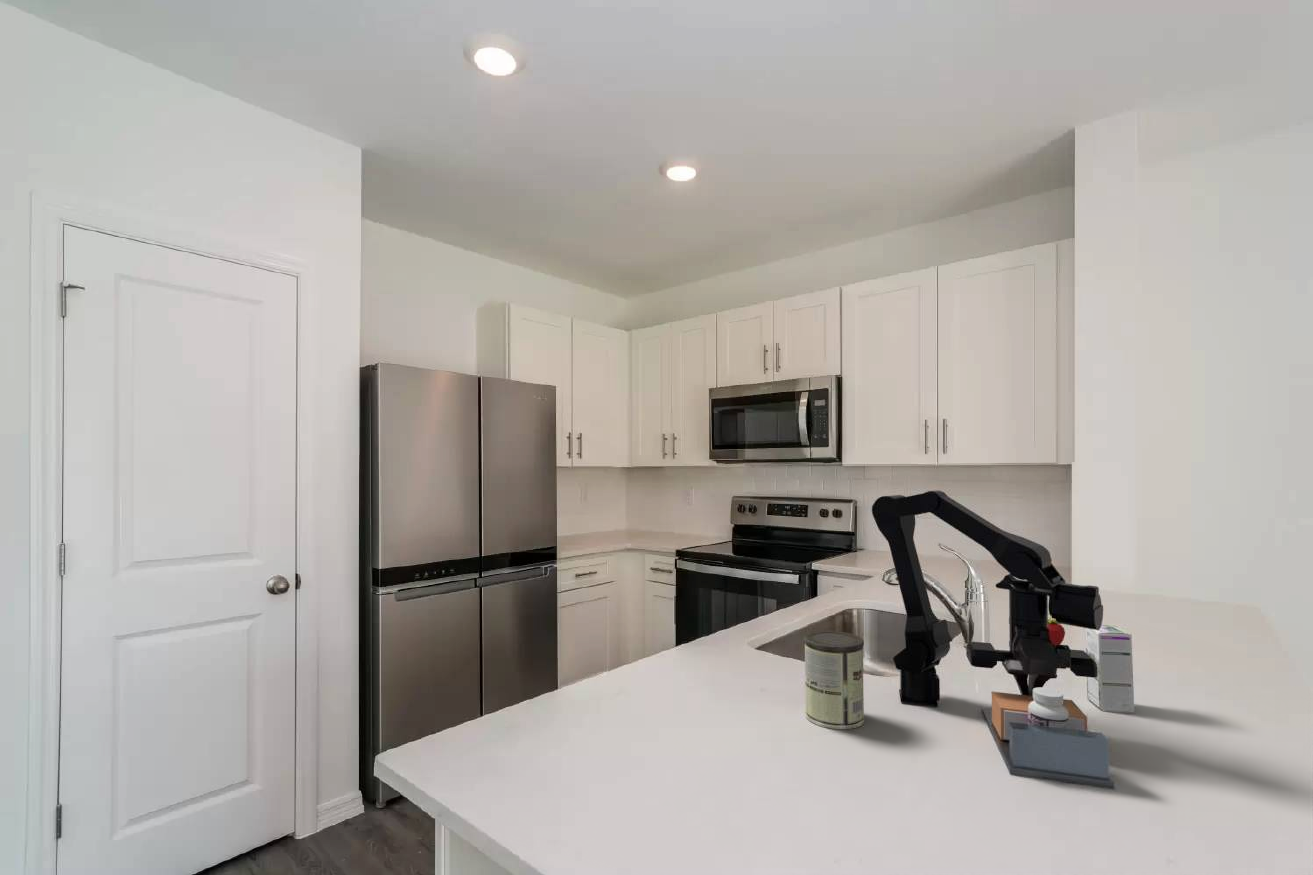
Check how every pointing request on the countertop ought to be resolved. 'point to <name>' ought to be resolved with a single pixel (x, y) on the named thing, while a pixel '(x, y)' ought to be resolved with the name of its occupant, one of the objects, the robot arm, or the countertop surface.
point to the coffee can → (834, 679)
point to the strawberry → (1055, 631)
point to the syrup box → (1111, 669)
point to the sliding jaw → (1017, 712)
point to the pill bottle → (1047, 709)
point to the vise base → (1054, 753)
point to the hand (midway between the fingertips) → (1029, 708)
